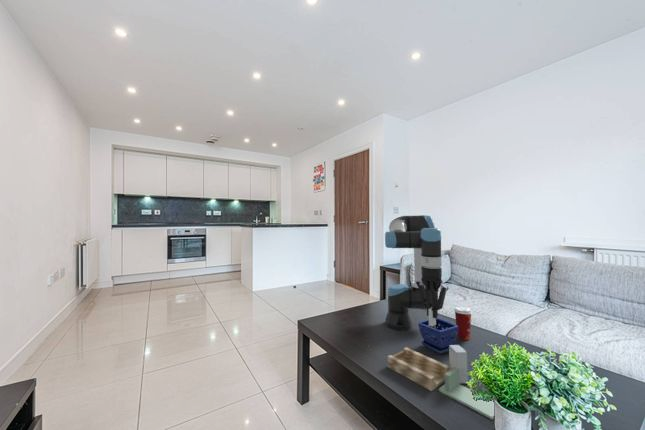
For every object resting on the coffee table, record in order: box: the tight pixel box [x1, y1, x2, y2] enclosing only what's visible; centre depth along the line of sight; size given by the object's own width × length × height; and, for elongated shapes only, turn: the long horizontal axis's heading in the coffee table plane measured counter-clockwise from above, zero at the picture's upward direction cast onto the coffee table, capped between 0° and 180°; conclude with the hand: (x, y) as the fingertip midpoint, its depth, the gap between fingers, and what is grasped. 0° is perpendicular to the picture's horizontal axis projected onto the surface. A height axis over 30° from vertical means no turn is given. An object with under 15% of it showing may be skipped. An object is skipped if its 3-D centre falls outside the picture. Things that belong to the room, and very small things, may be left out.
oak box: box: [387, 347, 450, 392], centre depth 108 cm, size 20×13×4 cm, turn 37°
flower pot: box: [417, 317, 458, 355], centre depth 128 cm, size 13×13×12 cm
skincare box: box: [448, 344, 469, 385], centre depth 103 cm, size 6×4×12 cm
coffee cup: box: [453, 306, 473, 341], centre depth 139 cm, size 8×8×15 cm
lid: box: [438, 367, 495, 420], centre depth 92 cm, size 18×8×7 cm, turn 37°
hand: (432, 324), depth 106 cm, fingers closed
